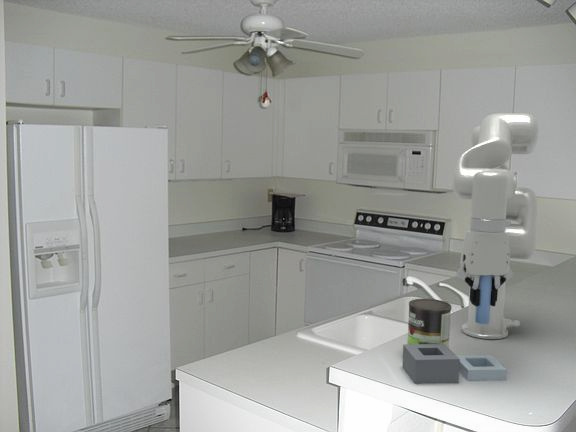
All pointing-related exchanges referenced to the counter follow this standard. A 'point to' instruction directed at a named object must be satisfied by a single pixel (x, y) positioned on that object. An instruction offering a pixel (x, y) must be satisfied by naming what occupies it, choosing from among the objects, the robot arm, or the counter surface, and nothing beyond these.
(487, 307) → the plug
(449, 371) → the port
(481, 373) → the square frame plate
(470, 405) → the counter surface
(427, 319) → the coffee can
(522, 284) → the counter surface
